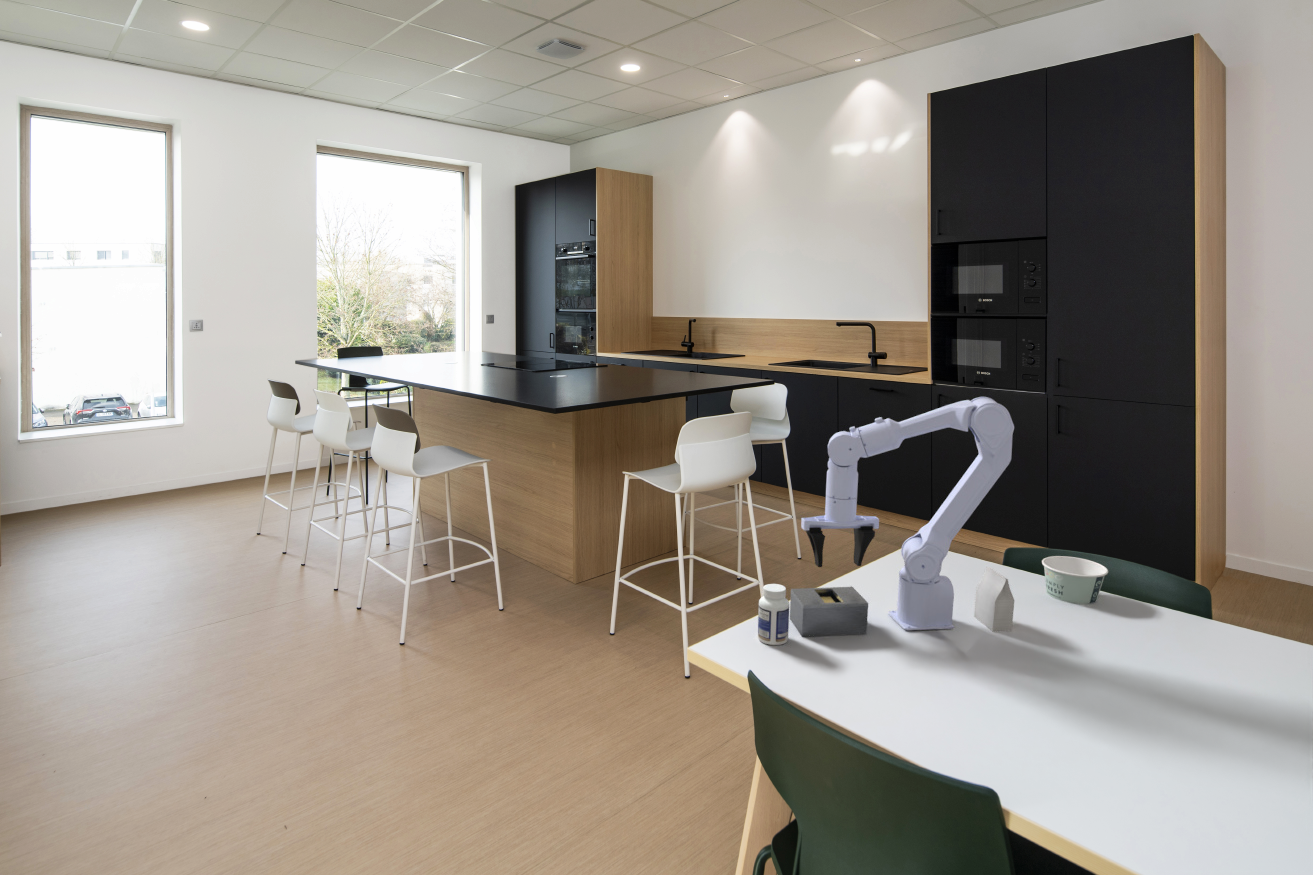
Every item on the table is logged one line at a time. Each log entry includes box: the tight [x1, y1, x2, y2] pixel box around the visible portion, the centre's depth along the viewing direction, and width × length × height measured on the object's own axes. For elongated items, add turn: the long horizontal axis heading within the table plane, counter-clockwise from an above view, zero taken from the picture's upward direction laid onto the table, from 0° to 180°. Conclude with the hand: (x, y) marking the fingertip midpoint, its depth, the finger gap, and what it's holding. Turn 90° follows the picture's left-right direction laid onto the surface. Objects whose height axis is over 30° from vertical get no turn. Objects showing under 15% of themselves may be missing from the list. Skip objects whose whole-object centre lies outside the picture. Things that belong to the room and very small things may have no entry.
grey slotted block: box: [789, 586, 869, 638], centre depth 140 cm, size 12×8×6 cm, turn 96°
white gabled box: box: [973, 566, 1015, 632], centre depth 142 cm, size 4×7×10 cm, turn 5°
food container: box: [1041, 555, 1109, 605], centre depth 156 cm, size 12×12×6 cm
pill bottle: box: [757, 583, 790, 646], centre depth 134 cm, size 5×5×10 cm
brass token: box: [821, 597, 835, 603], centre depth 140 cm, size 2×4×5 cm, turn 5°
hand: (838, 564), depth 145 cm, fingers open, 7 cm apart
